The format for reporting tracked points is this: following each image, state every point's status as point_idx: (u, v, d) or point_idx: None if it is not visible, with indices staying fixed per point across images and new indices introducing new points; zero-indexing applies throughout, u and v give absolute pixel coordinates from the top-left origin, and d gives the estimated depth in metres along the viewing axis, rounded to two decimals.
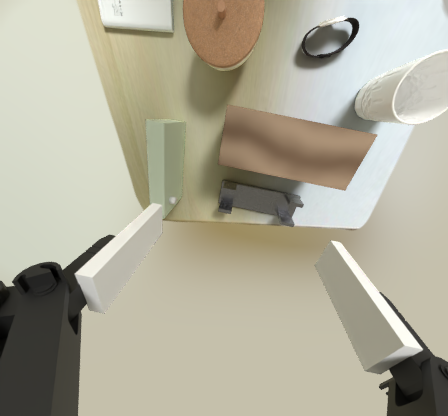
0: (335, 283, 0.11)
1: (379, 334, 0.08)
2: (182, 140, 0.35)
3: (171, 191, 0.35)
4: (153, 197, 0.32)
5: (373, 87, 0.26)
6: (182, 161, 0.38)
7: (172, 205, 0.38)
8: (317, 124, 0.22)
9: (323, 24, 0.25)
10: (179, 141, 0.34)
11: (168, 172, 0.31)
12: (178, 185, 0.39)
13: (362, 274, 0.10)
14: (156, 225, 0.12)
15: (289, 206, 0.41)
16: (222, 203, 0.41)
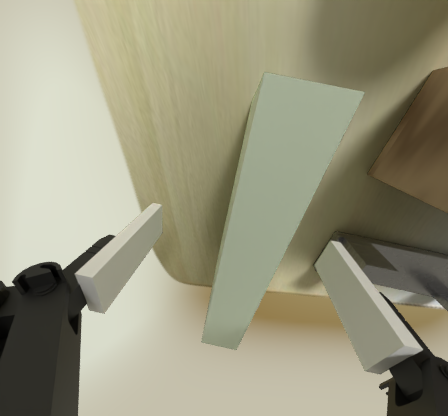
0: (335, 283, 0.11)
1: (379, 334, 0.08)
2: None
3: None
4: (217, 316, 0.12)
5: None
6: None
7: None
8: None
9: None
10: None
11: None
12: None
13: (362, 274, 0.10)
14: (156, 225, 0.12)
15: None
16: None
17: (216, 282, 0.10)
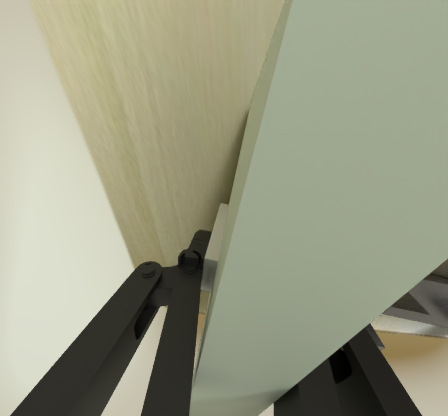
0: None
1: None
2: None
3: None
4: (202, 411, 0.08)
5: None
6: None
7: None
8: None
9: None
10: None
11: None
12: None
13: None
14: None
15: None
16: None
17: (195, 384, 0.06)
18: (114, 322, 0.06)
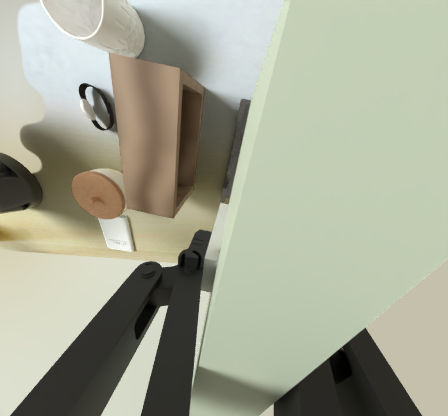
0: None
1: None
2: None
3: None
4: (202, 412, 0.08)
5: (106, 51, 0.25)
6: None
7: None
8: (119, 130, 0.22)
9: (89, 117, 0.32)
10: None
11: None
12: None
13: None
14: None
15: None
16: None
17: (195, 385, 0.06)
18: (114, 322, 0.06)
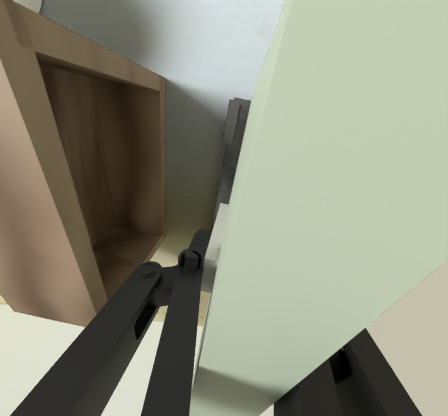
0: None
1: None
2: None
3: None
4: (202, 412, 0.08)
5: None
6: None
7: None
8: None
9: None
10: None
11: None
12: None
13: None
14: None
15: None
16: None
17: (195, 385, 0.06)
18: (114, 322, 0.06)
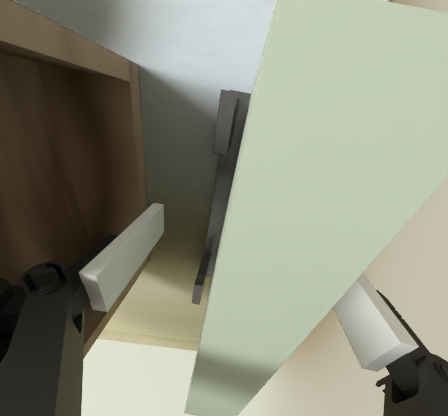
0: None
1: (376, 332, 0.08)
2: None
3: None
4: (203, 393, 0.08)
5: None
6: None
7: None
8: None
9: None
10: None
11: None
12: None
13: None
14: (158, 225, 0.12)
15: None
16: None
17: (197, 362, 0.07)
18: None
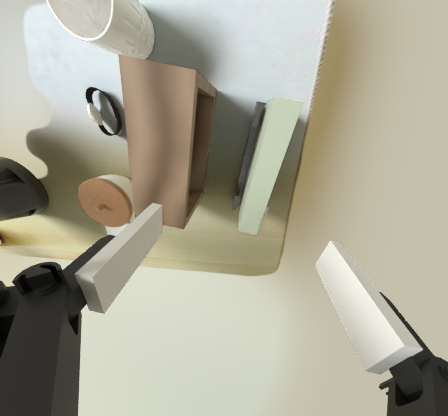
0: (334, 283, 0.11)
1: (379, 334, 0.08)
2: None
3: None
4: (249, 207, 0.24)
5: (115, 52, 0.24)
6: None
7: None
8: (128, 137, 0.20)
9: (96, 122, 0.30)
10: None
11: None
12: None
13: (362, 274, 0.10)
14: (156, 225, 0.12)
15: None
16: None
17: (251, 183, 0.22)
18: None
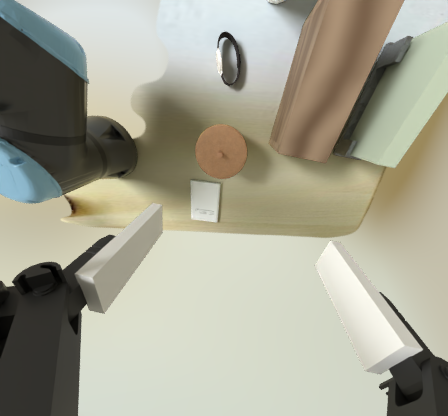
0: (335, 283, 0.11)
1: (379, 334, 0.08)
2: None
3: None
4: (400, 136, 0.25)
5: None
6: None
7: None
8: (311, 59, 0.21)
9: (221, 70, 0.31)
10: None
11: None
12: None
13: (362, 274, 0.10)
14: (156, 225, 0.12)
15: None
16: None
17: (412, 108, 0.23)
18: None
